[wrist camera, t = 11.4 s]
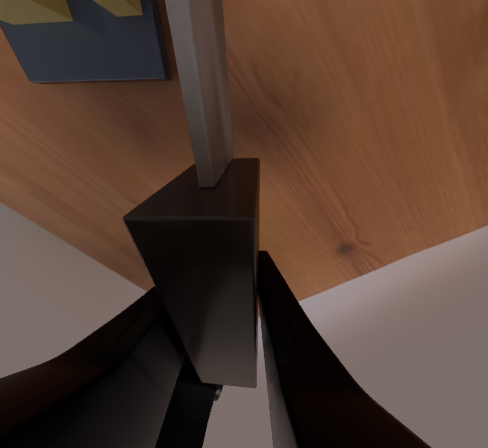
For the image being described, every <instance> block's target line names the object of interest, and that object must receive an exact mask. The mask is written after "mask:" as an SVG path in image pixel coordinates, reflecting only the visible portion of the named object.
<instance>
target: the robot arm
mask: <svg viewBox="0 0 488 448" xmlns="http://www.w3.org/2000/svg"><path fill="white" fill-rule="evenodd" d="M258 300H259V310H260V319H261V330H262V340H263V349H264V359H265V369H266V379H267V389H268V398H269V409H270V419H271V428H272V438H273V448H431V447H430V446H429V445H428V444H426V443H425V442H424V441H423V440H422V439H420V438H419V437H418V436H417V435H416V434H414V433H413V432H412V431H411V430H409V429H408V428H407V427H406V426H405V425H403V424H402V423H401V422H400V421H399V420H397V419H396V418H395V417H394V416H392V415H391V414H390V413H389V412H387V411H386V410H385V409H384V408H383V407H382V406H380V405H379V404H378V403H377V402H376V401H375V400H373V399H372V398H371V397H370V396H369V395H368V394H367V393H366V392H365V391H364V390H363V389H362V388H361V387H360V386H359V385H358V383H357V382H356V381H355V380H354V379H353V378H352V376H351V375H350V374H349V372H348V371H347V370H346V368H345V367H344V366H343V364H342V363H341V362H340V361H339V359H338V358H337V357H336V355H335V354H334V353H333V352H332V350H331V349H330V347H329V346H328V345H327V343H326V342H325V341H324V340H323V338H322V337H321V336H320V334H319V333H318V331H317V330H316V329H315V327H314V326H313V325H312V323H311V322H310V320H309V318H308V317H307V315H306V314H305V312H304V311H303V309H302V307H301V306H300V305H299V303H298V301H297V299H296V298H295V296H294V294H293V293H292V291H291V289H290V288H289V286H288V285H287V283H286V281H285V280H284V278H283V276H282V275H281V273H280V271H279V270H278V268H277V267H276V265H275V263H274V262H273V260H272V258H271V257H270V255H269V253H268V252H267V251H259V259H258ZM222 388H223V385H221V384H212V383H202V382H201V380H200V378H199V376H198V374H197V372H196V370H195V367H194V365H193V363H192V361H191V359H190V357H189V355H188V353H187V351H186V349H185V347H184V345H183V343H182V341H181V339H180V337H179V335H178V333H177V330H176V328H175V326H174V324H173V322H172V320H171V318H170V316H169V314H168V312H167V310H166V308H165V306H164V304H163V302H162V300H161V298H160V296H159V293H158V291H157V289H156V287H155V286H154V287H153V288H151V289H150V290H149V291H148V292H147V293H145V294H144V295H143V296H141V297H140V298H139V299H138V300H137V301H135V302H134V303H133V304H131V305H130V306H129V307H128V308H126V309H125V310H124V311H122V312H121V313H120V314H118V315H117V316H116V317H114V318H113V319H112V320H110V321H109V322H107V323H106V324H104V325H103V326H102V327H100V328H99V329H97V330H96V331H94V332H93V333H92V334H91V335H89V336H87V337H86V338H85V339H83V340H82V341H80V342H79V343H77V344H76V345H75V346H73V347H72V348H70V349H69V350H67V351H66V352H64V353H62V354H61V355H59V356H57V357H55V358H53V359H51V360H49V361H47V362H44V363H42V364H40V365H37V366H34V367H31V368H28V369H26V370H23V371H20V372H17V373H14V374H12V375H9V376H6V377H3V378H0V448H202V446H203V442H204V437H205V432H206V428H207V423H208V419H209V416H210V412H211V409H212V405H213V401H217V400H218V398H219V396H220V394H221V391H222Z"/></svg>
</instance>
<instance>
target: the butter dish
mask: <svg viewBox="0 0 488 448" xmlns="http://www.w3.org/2000/svg"><path fill="white" fill-rule="evenodd" d="M66 2H67V4H68V7H69V10H70V13H71V15H72V18H73V21H67V22H50V23H33V24H17V25H13V24H10V23H7V22H4V21H1V20H0V26H1V28H2V30H3V32H4V34H5V36H6V38H7V40H8V41H9V43H10V45H11V47H12V49H13V51H14V53H15V55H16V57H17V59H18V61H19V62H20V64H21V66H22V68H23V70H24V72H25V74H26V76H27V78H28V80H29V82H31V83H39V84H65V83H102V82H138V81H171V76H170V71H169V65H168V60H167V54H166V49H165V43H164V38H163V32H162V27H161V21H160V16H159V10H158V5H157V0H140V3H141V7H142V12H143V15H136V16H121V17H117V16H116V15H114V14H113V13H111V12H110V11H108V10H107V9H105V8H104V7H102V6H101V5H99V4H98V3H96V2H95V1H93V0H66Z"/></svg>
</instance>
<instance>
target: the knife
mask: <svg viewBox="0 0 488 448" xmlns="http://www.w3.org/2000/svg"><path fill="white" fill-rule="evenodd" d="M165 4H166V9H167V15H168V20H169V26H170V31H171V36H172V42H173V47H174V52H175V58H176V63H177V68H178V74H179V79H180V85H181V90H182V95H183V101H184V106H185V111H186V117H187V122H188V127H189V133H190V138H191V144H192V149H193V154H194V160H195V164H193V165H192V166H191V167H189V168H188V169H187V170H185V171H184V172H183V173H181V174H180V175H179V176H177V177H176V178H175V179H173V180H172V181H170V182H169V183H168V184H166V185H165V186H164V187H162V188H161V189H160V190H158V191H157V192H156V193H154V194H153V195H152V196H150V197H149V198H148V199H146V200H145V201H144V202H142V203H141V204H139V205H138V206H137V207H135V208H134V209H133V210H131V211H130V212H129V213H127V214H126V215H125V216H124V217H123V221H124V224H125V226H126V228H127V230H128V232H129V234H130V236H131V238H132V240H133V242H134V244H135V246H136V248H137V250H138V252H139V254H140V256H141V258H142V261H143V263H144V265H145V267H146V269H147V271H148V273H149V275H150V277H151V279H152V281H153V283H154V285H155V287H156V289H157V291H158V293H159V296H160V298H161V300H162V302H163V304H164V306H165V308H166V310H167V312H168V314H169V316H170V318H171V320H172V322H173V324H174V326H175V328H176V330H177V333H178V335H179V337H180V339H181V341H182V343H183V345H184V347H185V349H186V351H187V353H188V355H189V357H190V359H191V361H192V363H193V365H194V367H195V370H196V372H197V374H198V376H199V378H200V380H201V382H202V383H212V384H221V385H230V386H240V387H248V388H256V386H257V348H258V347H257V346H258V345H257V344H258V306H259V300H258V259H259V195H260V159H259V158H235V159H233V143H232V129H231V114H230V100H229V86H228V72H227V57H226V43H225V29H224V15H223V0H165Z"/></svg>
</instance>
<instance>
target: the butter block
mask: <svg viewBox="0 0 488 448" xmlns="http://www.w3.org/2000/svg"><path fill="white" fill-rule="evenodd" d="M0 20H1V21H4V22H7V23H10V24H13V25H17V24H33V23H50V22H67V21H73V18H72V15H71V13H70V10H69V7H68V4H67V2H66V0H0Z"/></svg>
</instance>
